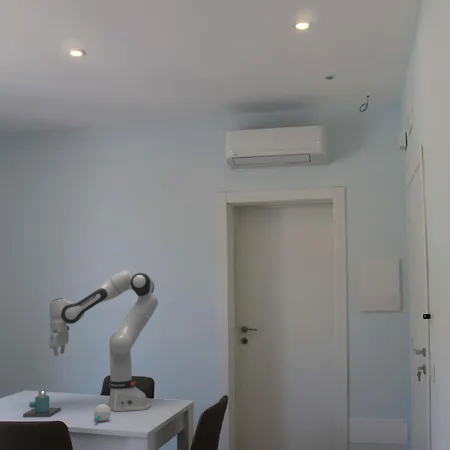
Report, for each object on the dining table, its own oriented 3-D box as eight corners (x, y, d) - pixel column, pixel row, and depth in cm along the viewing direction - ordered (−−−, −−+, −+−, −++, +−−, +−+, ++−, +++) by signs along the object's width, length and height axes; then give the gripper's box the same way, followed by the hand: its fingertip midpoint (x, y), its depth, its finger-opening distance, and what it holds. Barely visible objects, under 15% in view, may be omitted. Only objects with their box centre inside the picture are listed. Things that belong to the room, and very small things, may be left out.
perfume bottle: (116, 411, 285) (107, 420, 273) (104, 420, 286) (94, 430, 275) (107, 398, 286) (97, 407, 274) (94, 408, 287) (84, 417, 275)
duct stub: (60, 410, 307) (60, 387, 308) (50, 416, 293) (50, 393, 294) (34, 410, 308) (34, 388, 309) (23, 417, 294) (23, 393, 295)
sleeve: (50, 409, 304) (50, 395, 304) (45, 412, 297) (45, 397, 298) (33, 409, 305) (33, 395, 305) (27, 412, 298) (27, 398, 299)
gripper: (57, 330, 306) (58, 357, 305) (70, 326, 327) (71, 351, 326) (45, 331, 307) (46, 357, 306) (59, 327, 327) (60, 352, 326)
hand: (59, 354), depth 316 cm, fingers open, 8 cm apart
